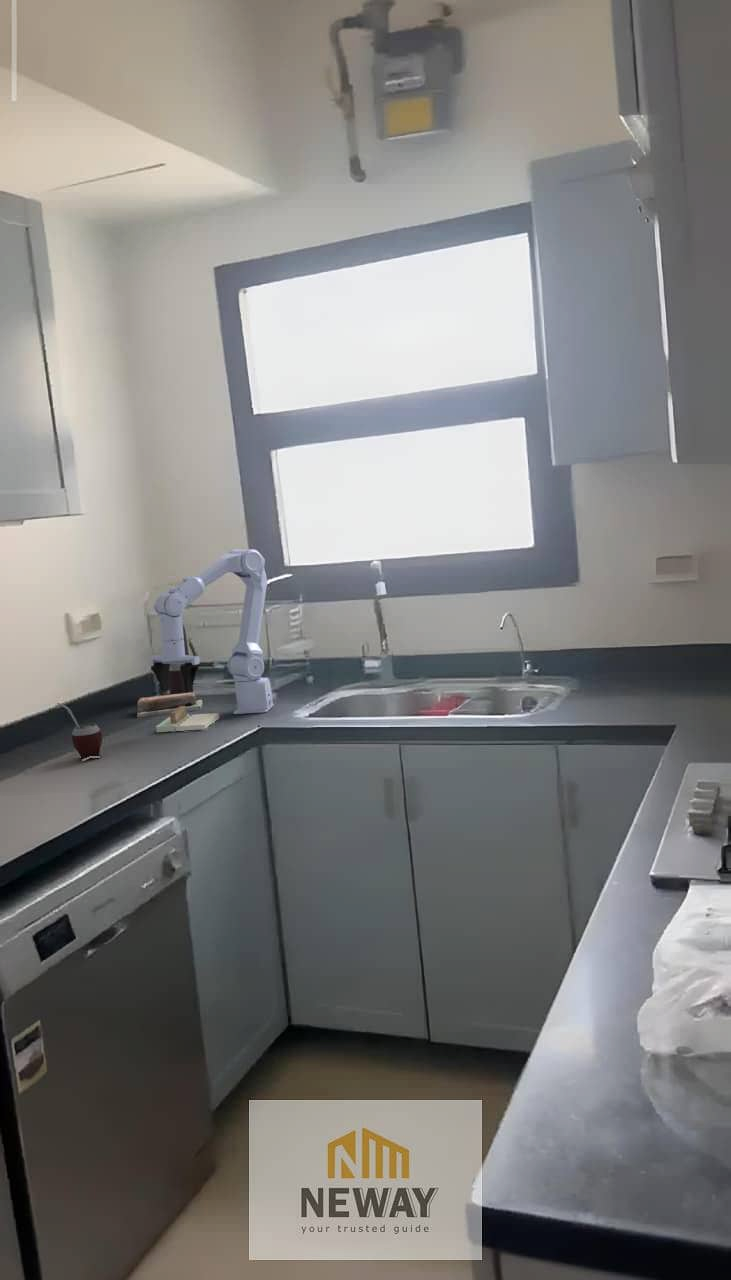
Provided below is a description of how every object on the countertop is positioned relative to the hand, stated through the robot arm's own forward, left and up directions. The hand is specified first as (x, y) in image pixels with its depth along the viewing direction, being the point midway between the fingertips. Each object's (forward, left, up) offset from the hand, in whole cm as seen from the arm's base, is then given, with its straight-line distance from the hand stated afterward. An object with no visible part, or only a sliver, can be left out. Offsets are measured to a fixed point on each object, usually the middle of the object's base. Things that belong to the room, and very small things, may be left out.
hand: (177, 691), depth 277 cm
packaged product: (+12, -23, -11) cm, 28 cm away
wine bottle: (+14, -39, -10) cm, 43 cm away
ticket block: (-3, -3, -10) cm, 11 cm away
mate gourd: (+16, +24, -10) cm, 30 cm away
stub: (+4, -3, -10) cm, 11 cm away
